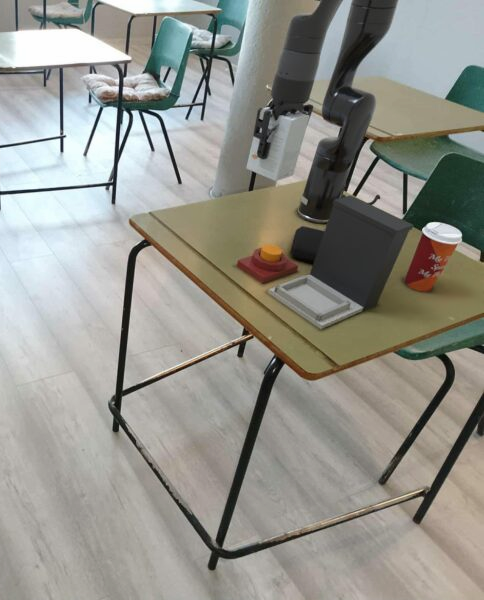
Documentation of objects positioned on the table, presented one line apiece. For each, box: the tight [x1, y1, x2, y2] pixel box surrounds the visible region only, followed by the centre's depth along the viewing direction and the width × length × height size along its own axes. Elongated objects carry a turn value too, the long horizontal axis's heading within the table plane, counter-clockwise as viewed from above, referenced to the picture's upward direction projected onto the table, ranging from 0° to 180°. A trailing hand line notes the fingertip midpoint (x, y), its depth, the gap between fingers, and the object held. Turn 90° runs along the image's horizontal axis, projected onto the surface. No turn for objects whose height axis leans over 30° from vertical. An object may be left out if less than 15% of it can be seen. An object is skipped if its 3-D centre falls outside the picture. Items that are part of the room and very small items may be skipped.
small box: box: [245, 106, 311, 182], centre depth 119 cm, size 8×6×13 cm
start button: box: [260, 244, 283, 262], centre depth 126 cm, size 4×4×2 cm
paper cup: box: [404, 221, 463, 293], centre depth 123 cm, size 8×8×14 cm
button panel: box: [236, 247, 299, 285], centre depth 128 cm, size 11×8×4 cm
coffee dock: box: [267, 195, 414, 330], centre depth 115 cm, size 18×14×19 cm
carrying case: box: [289, 225, 325, 264], centre depth 136 cm, size 11×3×15 cm
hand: (273, 155), depth 121 cm, fingers closed on small box, 6 cm apart
